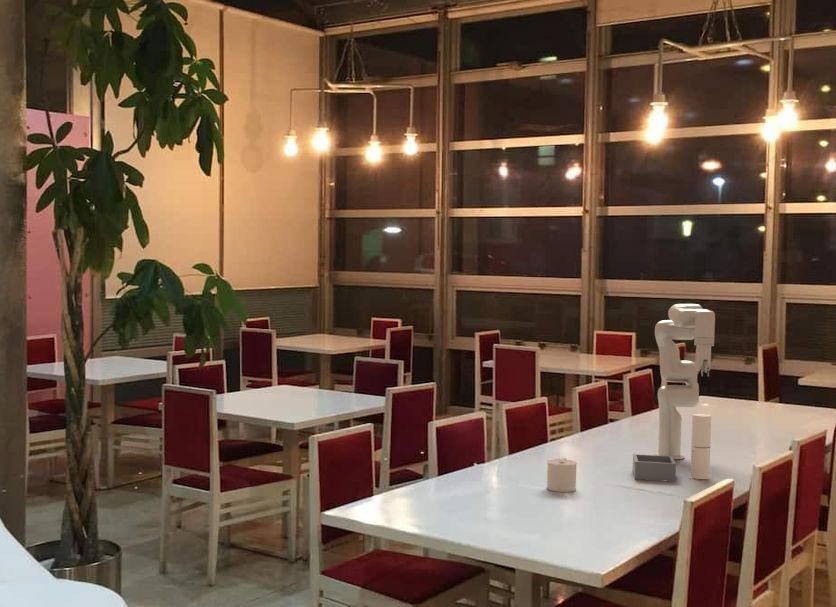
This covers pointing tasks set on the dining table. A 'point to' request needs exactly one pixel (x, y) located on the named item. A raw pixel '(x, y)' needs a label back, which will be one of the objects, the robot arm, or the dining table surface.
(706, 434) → the cylindrical container
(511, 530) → the dining table surface
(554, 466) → the toilet tissue
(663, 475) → the box
